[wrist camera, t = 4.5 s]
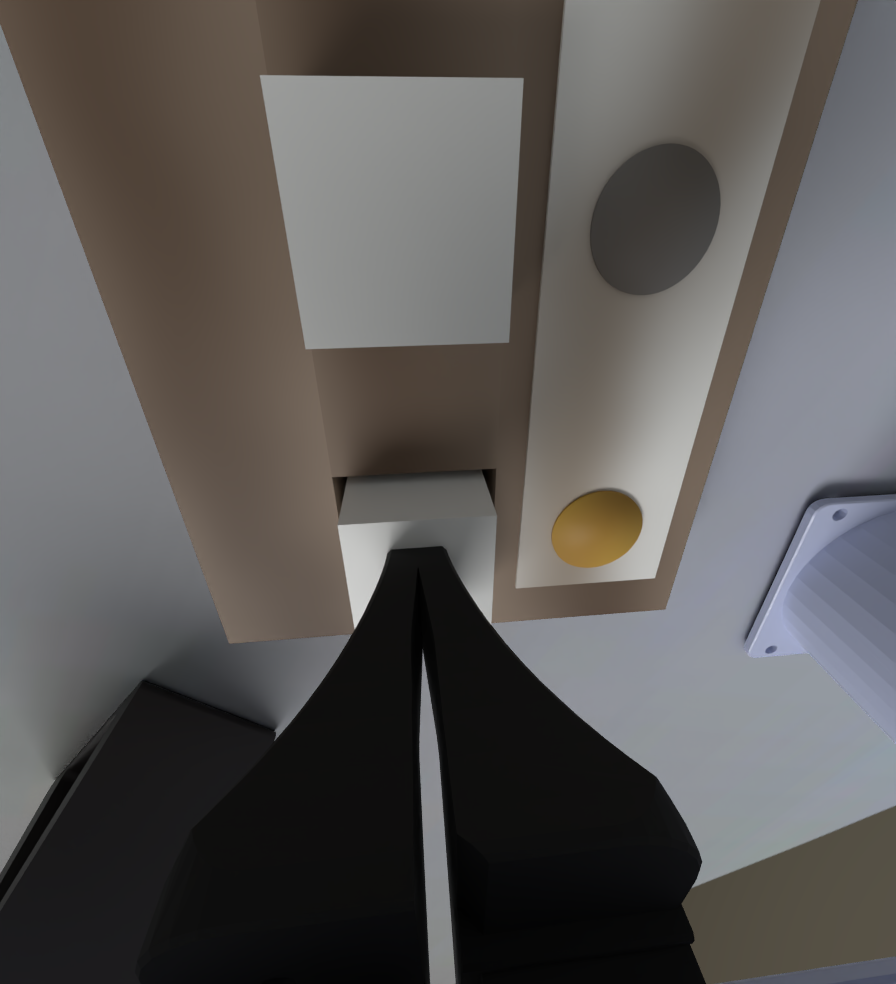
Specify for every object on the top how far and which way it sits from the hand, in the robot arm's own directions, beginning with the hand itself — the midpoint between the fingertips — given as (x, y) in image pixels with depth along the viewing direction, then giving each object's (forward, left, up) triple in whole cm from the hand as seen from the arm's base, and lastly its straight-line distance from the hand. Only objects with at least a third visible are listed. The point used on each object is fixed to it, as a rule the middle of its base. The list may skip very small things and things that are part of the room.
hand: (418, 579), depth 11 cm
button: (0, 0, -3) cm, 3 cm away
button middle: (0, -8, -3) cm, 8 cm away
